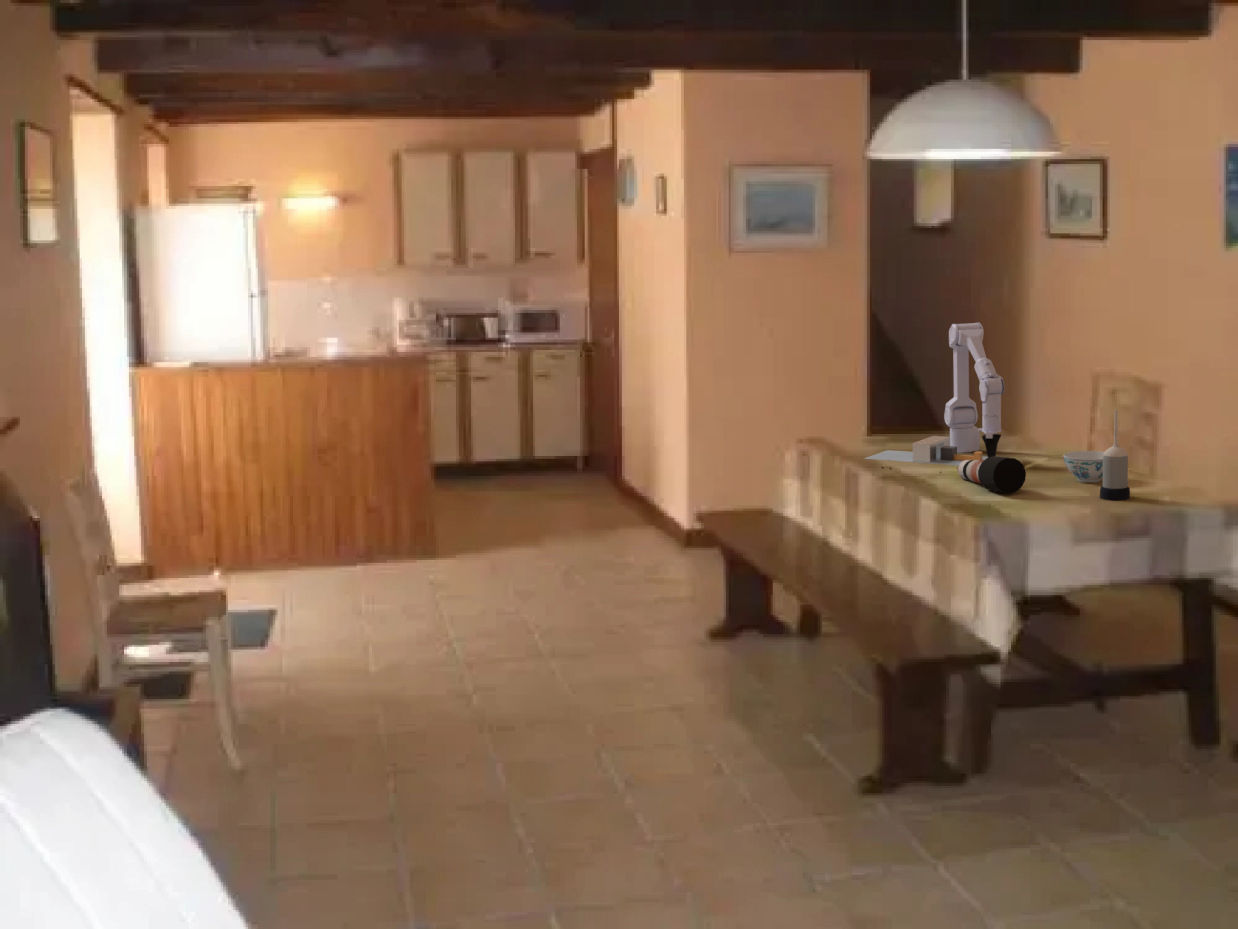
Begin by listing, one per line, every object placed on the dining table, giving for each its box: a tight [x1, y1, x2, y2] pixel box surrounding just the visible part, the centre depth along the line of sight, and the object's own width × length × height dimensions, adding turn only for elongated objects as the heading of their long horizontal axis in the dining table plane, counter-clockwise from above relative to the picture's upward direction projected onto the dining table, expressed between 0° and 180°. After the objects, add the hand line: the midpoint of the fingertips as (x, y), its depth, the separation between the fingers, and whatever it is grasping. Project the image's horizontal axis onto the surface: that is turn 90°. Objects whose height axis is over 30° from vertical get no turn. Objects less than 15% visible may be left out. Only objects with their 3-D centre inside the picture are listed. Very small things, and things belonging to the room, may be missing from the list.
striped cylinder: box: [956, 455, 1027, 494], centre depth 462 cm, size 10×34×10 cm, turn 10°
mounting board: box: [863, 449, 988, 466], centre depth 508 cm, size 39×18×1 cm, turn 55°
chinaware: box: [1063, 450, 1105, 484], centre depth 464 cm, size 15×15×8 cm
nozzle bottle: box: [1099, 409, 1131, 502], centre depth 436 cm, size 8×8×25 cm
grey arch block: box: [912, 435, 950, 464], centre depth 507 cm, size 6×16×6 cm, turn 145°
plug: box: [941, 446, 984, 461], centre depth 501 cm, size 13×4×4 cm, turn 55°
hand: (991, 457), depth 496 cm, fingers closed
